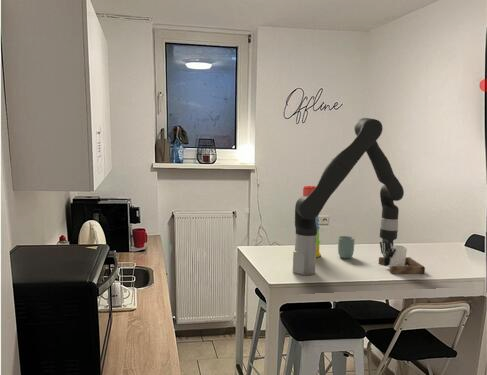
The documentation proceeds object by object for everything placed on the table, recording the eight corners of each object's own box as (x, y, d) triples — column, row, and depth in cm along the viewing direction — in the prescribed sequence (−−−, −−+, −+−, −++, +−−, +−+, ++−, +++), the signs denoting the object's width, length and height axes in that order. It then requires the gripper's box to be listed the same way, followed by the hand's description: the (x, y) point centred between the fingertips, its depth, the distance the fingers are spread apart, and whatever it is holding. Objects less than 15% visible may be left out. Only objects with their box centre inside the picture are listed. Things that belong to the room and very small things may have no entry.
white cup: (393, 271, 189) (394, 250, 187) (383, 266, 196) (385, 245, 195) (408, 270, 191) (410, 249, 189) (398, 265, 198) (400, 244, 197)
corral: (391, 273, 186) (391, 267, 186) (378, 263, 201) (378, 257, 200) (424, 273, 187) (424, 267, 186) (409, 263, 202) (409, 257, 201)
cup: (352, 255, 212) (353, 236, 211) (354, 260, 204) (355, 240, 203) (336, 254, 213) (337, 235, 212) (338, 259, 205) (339, 239, 204)
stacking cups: (315, 259, 205) (319, 188, 200) (296, 255, 210) (299, 186, 205) (323, 254, 213) (327, 186, 209) (304, 251, 219) (307, 184, 214)
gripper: (403, 231, 185) (400, 269, 187) (391, 225, 198) (388, 260, 200) (386, 231, 184) (383, 269, 186) (375, 224, 197) (372, 260, 199)
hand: (385, 265), depth 193 cm, fingers closed
